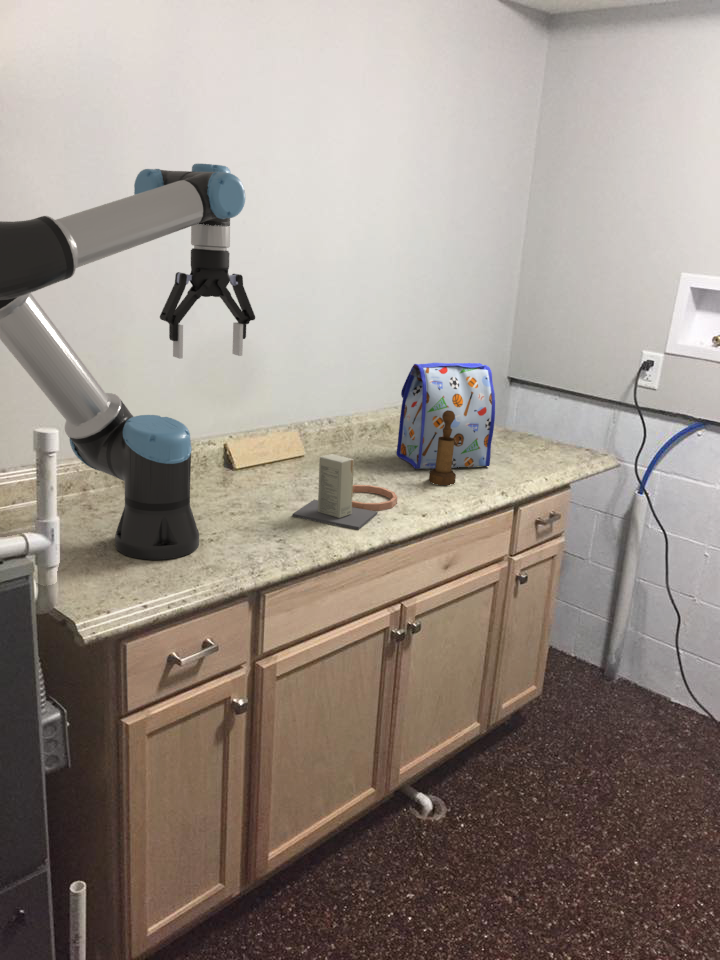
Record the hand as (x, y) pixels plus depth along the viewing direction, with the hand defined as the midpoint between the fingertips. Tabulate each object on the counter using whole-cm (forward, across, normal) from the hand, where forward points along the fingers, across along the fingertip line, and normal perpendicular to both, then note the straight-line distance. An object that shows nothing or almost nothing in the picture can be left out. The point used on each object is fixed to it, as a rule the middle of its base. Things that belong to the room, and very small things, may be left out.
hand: (208, 356), depth 171 cm
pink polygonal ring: (+32, -33, +14) cm, 48 cm away
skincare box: (+31, -20, +19) cm, 42 cm away
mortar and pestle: (+32, -59, +12) cm, 68 cm away
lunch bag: (+32, -72, -2) cm, 79 cm away
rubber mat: (+32, -20, +19) cm, 42 cm away
